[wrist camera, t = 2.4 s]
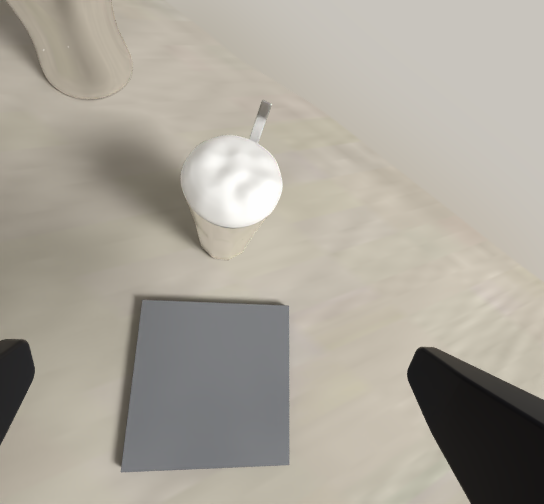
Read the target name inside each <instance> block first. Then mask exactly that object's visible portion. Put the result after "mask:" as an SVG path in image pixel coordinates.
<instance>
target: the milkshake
mask: <svg viewBox="0 0 544 504" xmlns="http://www.w3.org/2000/svg"><path fill="white" fill-rule="evenodd" d="M270 109H271V103H269V102H267V101H265V100H262V102H261V105H260V108H259V111H258V114H257V117H256V120H255V123H254V126H253V129H252V132H251V135H250V138H249V139H247V138H244V137H240V136H236V135H222V136H217V137H214V138H211V139H208V140H206V141H204V142H202V143H200V144H199V145H198V146H196V147H195V148H194V150H193V151H192V152H191V153H190V154H189V156H188V157H187V159H186V160H185V162H184V164H183V167H182V170H181V187H182V191H183V193H184V196H185V198H186V201H187V204H188V206H189V209H190V212H191V214H192V217H193V220H194V223H195V226H196V229H197V233H198V236H199V240H200V243H201V247H202V248H203V249H204V250H205V251H206V252H207V253H208V254H209V255H210V256H211V257H212V258H216V259H223V260H230V259H232V258H234V257H236V256H238V255H240V254H242V253H243V251H244V250H245V248H246V247H247V245H248V243H249V242H250V240H251V239H252V237H253V236H254V234H255V233H256V231H257V230H258V229H259V227H260V226H261V225H262V223H263V222H264V221H265V220H266V218H267V217H268V216H269V214H270V213H271V212H272V211H273V209H274V208H275V206H276V205H277V203H278V201H279V198H280V196H281V193H282V186H283V185H282V178H281V174H280V170H279V167H278V164H277V162H276V160H275V158H274V157H273V156H272V155H271V154H270V153H269V152H268V151H267V150H266V149H265V148H263V147H262V146H261V145H259V144H258V143H259V140H260V137H261V134H262V131H263V129H264V126H265V123H266V120H267V117H268V114H269V111H270Z"/></svg>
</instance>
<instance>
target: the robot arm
mask: <svg viewBox="0 0 544 504" xmlns="http://www.w3.org/2000/svg"><path fill="white" fill-rule="evenodd" d="M34 373H35V367H34V363H33V359H32V355H31V351H30V347H29V344H28V342H27V341H26V340H23V339H5V340H1V341H0V445H1V443H2V441H3V439H4V437H5V435H6V433H7V431H8V429H9V427H10V425H11V423H12V421H13V419H14V417H15V415H16V413H17V411H18V409H19V407H20V405H21V403H22V401H23V399H24V397H25V395H26V393H27V391H28V389H29V387H30V385H31V383H32V381H33V378H34ZM407 377H408V381H409V384H410V386H411V388H412V390H413V393H414V395H415V397H416V399H417V402H418V404H419V406H420V409H421V411H422V413H423V415H424V418H425V420H426V422H427V424H428V426H429V429H430V431H431V433H432V435H433V437H434V438H435V440H436V442H437V444H438V446H439V448H440V449H441V451H442V453H443V455H444V457H445V458H446V460H447V462H448V464H449V465H450V467H451V469H452V471H453V473H454V474H455V476H456V478H457V480H458V482H459V483H460V485H461V487H462V489H463V490H464V492H465V494H466V496H467V498H468V499H469V501H470V503H471V504H544V400H543V399H541V398H539V397H536V396H534V395H532V394H530V393H528V392H526V391H524V390H522V389H520V388H518V387H516V386H514V385H512V384H510V383H507V382H505V381H503V380H501V379H499V378H497V377H495V376H493V375H491V374H489V373H487V372H485V371H483V370H480V369H478V368H476V367H474V366H472V365H470V364H468V363H466V362H464V361H462V360H460V359H458V358H456V357H454V356H451V355H449V354H447V353H445V352H443V351H441V350H439V349H437V348H434V347H420V348H418V349H417V350H416V352H415V354H414V356H413V359H412V361H411V363H410V365H409V368H408V371H407Z"/></svg>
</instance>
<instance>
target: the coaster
mask: <svg viewBox="0 0 544 504" xmlns="http://www.w3.org/2000/svg"><path fill="white" fill-rule="evenodd" d="M278 465H289V306H286V305H261V304H235V303H210V302H185V301H160V300H142V307H141V315H140V323H139V331H138V339H137V347H136V355H135V363H134V371H133V379H132V387H131V395H130V403H129V411H128V419H127V427H126V435H125V442H124V450H123V458H122V466H121V472H141V471H164V470H187V469H209V468H232V467H255V466H278Z"/></svg>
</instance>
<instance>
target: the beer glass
mask: <svg viewBox="0 0 544 504" xmlns="http://www.w3.org/2000/svg"><path fill="white" fill-rule="evenodd" d="M5 1H6V2H7V3H8V5H9V6H10V7H11V9H12V10H13V11H14V13H15V14H16V15H17V17H18V18H19V19H20V21H21V22H22V24H23V25H24V27H25V29H26V30H27V32H28V34H29V36H30V38H31V40H32V42H33V45H34V47H35V50H36V53H37V56H38V60H39V63H40V66H41V68H42V71H43V73H44V75H45V77H46V79H47V80H48V81H49V82H50V83H51V84H52V85H53V86H54V87H55V88H56V89H57V90H59V91H60V92H62V93H64V94H66V95H69V96H72V97H75V98H80V99H99V98H104V97H107V96H110V95H112V94H115V93H116V92H118V91H120V90H121V89H122V88H123V87H124V86H125V85H126V84H127V83H128V81H129V80H130V78H131V75H132V71H133V62H132V58H131V55H130V52H129V50H128V48H127V46H126V44H125V42H124V39H123V37H122V35H121V33H120V31H119V29H118V26H117V23H116V20H115V16H114V11H113V7H112V0H5Z"/></svg>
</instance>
